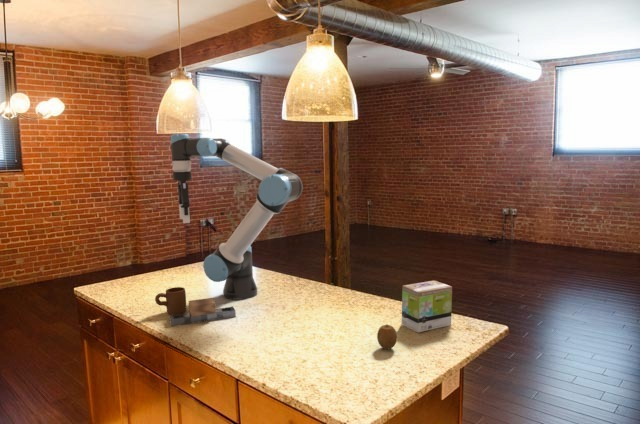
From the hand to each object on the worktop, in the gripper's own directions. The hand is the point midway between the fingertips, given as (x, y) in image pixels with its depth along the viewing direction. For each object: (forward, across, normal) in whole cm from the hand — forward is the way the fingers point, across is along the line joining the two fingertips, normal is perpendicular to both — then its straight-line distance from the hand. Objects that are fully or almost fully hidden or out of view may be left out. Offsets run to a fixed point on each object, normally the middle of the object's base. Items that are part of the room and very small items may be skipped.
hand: (184, 221), depth 201 cm
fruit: (+35, +81, +52) cm, 102 cm away
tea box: (+35, +69, +75) cm, 108 cm away
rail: (+35, +28, +2) cm, 45 cm away
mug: (+35, +15, -9) cm, 39 cm away
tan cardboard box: (+35, +28, +2) cm, 45 cm away
